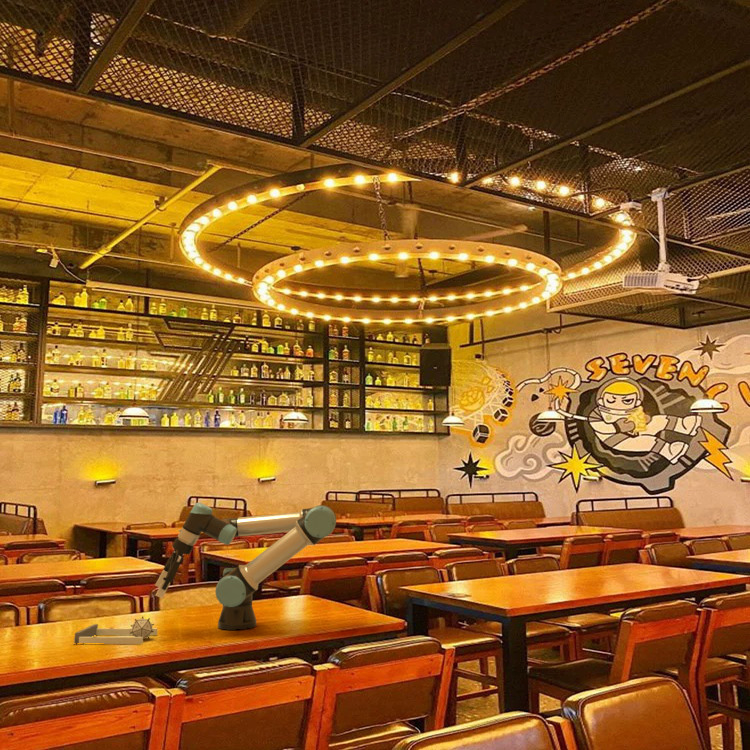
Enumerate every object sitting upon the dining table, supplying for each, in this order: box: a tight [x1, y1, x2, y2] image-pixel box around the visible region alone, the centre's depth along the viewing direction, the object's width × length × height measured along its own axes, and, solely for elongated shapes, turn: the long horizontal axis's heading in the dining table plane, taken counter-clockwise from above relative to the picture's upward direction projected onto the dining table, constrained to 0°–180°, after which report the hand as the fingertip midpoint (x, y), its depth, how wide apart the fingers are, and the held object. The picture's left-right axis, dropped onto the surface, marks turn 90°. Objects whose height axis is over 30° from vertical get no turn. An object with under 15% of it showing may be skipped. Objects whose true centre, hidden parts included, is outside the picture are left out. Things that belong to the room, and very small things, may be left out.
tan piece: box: [73, 623, 158, 645], centre depth 275 cm, size 25×16×4 cm, turn 87°
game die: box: [130, 616, 155, 640], centre depth 275 cm, size 9×8×10 cm
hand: (158, 591), depth 284 cm, fingers open, 13 cm apart
